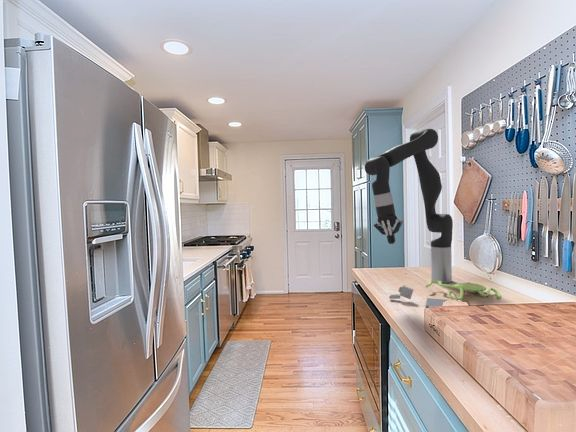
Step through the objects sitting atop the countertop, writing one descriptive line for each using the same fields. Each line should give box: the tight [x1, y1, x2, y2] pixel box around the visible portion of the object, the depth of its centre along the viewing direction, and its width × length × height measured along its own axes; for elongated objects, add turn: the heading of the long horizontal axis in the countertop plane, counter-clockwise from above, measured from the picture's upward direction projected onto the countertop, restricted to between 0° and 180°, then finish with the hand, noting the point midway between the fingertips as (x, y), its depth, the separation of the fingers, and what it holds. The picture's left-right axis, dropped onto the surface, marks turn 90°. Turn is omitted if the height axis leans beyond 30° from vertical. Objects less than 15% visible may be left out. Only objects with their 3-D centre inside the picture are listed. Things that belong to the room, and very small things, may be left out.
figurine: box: [425, 280, 502, 301], centre depth 142 cm, size 18×27×6 cm
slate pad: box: [425, 297, 448, 308], centre depth 129 cm, size 11×15×1 cm
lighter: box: [388, 285, 415, 300], centre depth 136 cm, size 7×2×8 cm
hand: (392, 243), depth 143 cm, fingers closed
